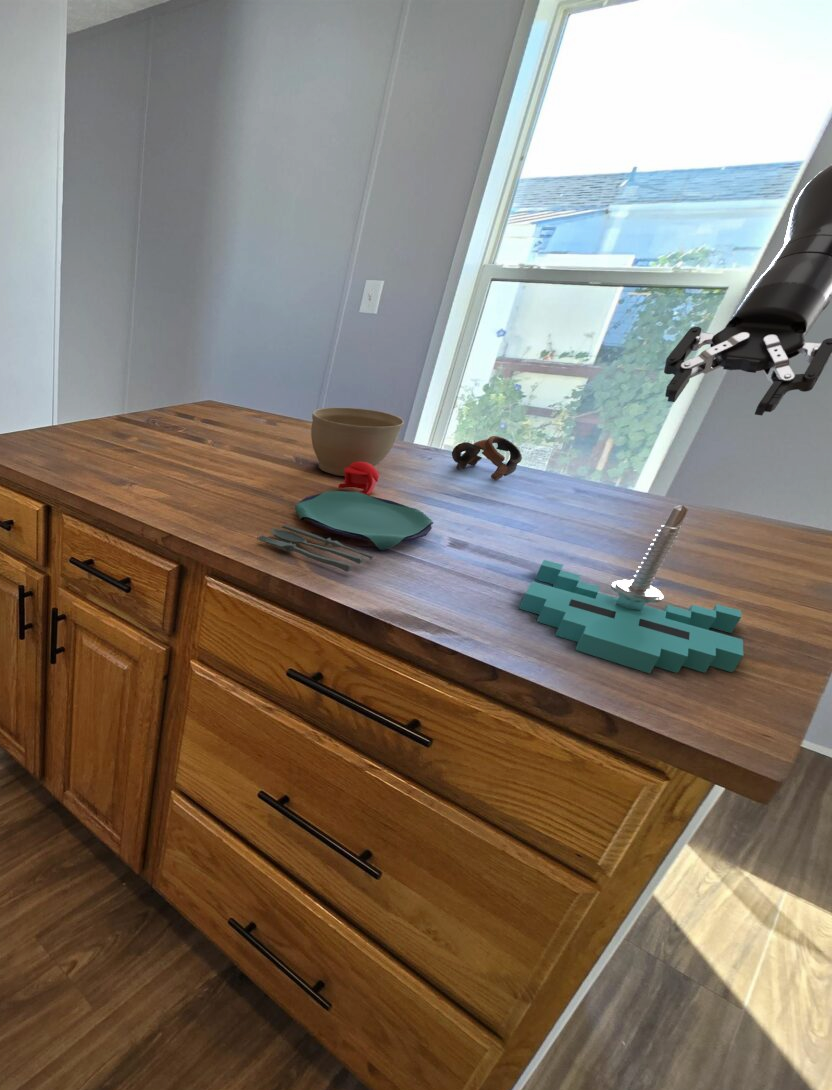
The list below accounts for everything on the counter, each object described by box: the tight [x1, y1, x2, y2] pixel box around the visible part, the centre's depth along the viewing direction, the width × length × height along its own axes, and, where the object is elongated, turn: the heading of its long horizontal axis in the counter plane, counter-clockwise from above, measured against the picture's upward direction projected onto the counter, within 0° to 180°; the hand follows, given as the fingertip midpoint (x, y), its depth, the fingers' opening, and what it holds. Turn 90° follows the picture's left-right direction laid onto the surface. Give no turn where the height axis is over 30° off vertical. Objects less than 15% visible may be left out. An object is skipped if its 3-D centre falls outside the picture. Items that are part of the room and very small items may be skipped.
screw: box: [610, 505, 689, 611], centre depth 77 cm, size 13×5×5 cm
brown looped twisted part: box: [451, 435, 523, 481], centre depth 129 cm, size 12×10×8 cm
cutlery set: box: [256, 490, 434, 573], centre depth 103 cm, size 20×30×2 cm, turn 130°
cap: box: [338, 461, 380, 496], centre depth 118 cm, size 8×6×6 cm
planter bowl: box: [310, 406, 405, 477], centre depth 128 cm, size 16×16×11 cm
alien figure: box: [518, 559, 745, 674], centre depth 79 cm, size 20×2×20 cm
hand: (714, 404), depth 84 cm, fingers open, 8 cm apart
